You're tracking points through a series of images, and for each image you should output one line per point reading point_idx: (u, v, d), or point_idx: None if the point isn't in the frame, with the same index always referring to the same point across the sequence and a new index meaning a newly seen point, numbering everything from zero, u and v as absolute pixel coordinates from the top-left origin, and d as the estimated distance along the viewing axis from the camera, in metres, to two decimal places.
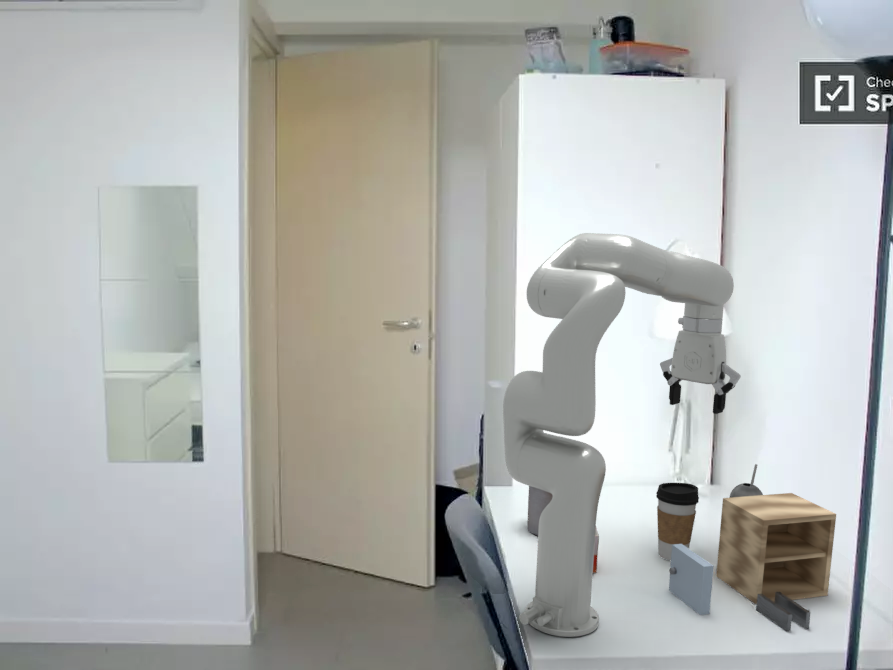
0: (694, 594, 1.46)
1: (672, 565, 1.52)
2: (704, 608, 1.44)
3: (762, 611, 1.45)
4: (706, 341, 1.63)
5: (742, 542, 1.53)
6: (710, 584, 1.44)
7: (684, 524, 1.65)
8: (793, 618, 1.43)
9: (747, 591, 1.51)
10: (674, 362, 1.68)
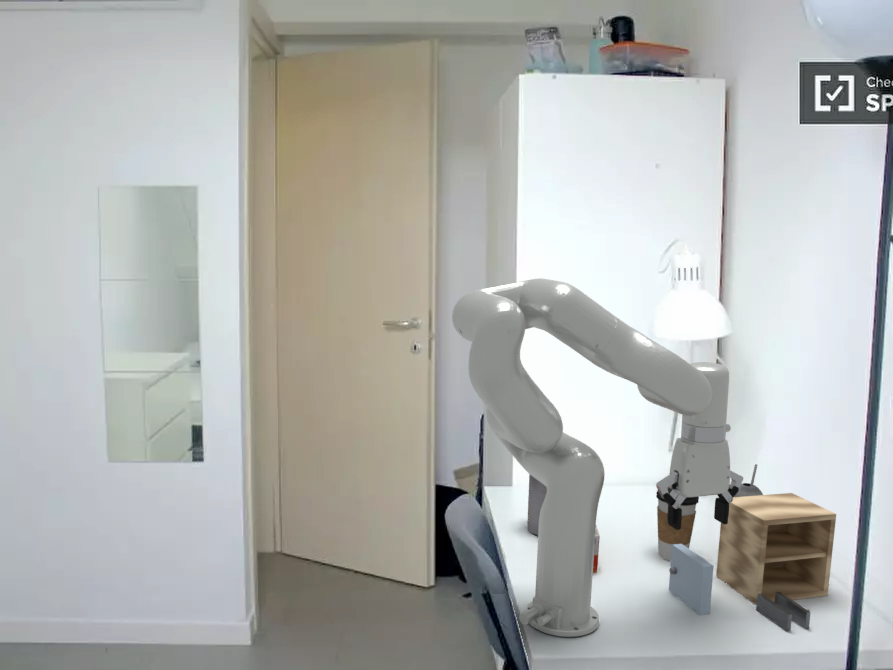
0: (694, 594, 1.46)
1: (672, 565, 1.52)
2: (704, 608, 1.44)
3: (762, 611, 1.45)
4: None
5: (742, 542, 1.53)
6: (710, 584, 1.44)
7: (684, 524, 1.65)
8: (793, 618, 1.43)
9: (747, 591, 1.51)
10: None
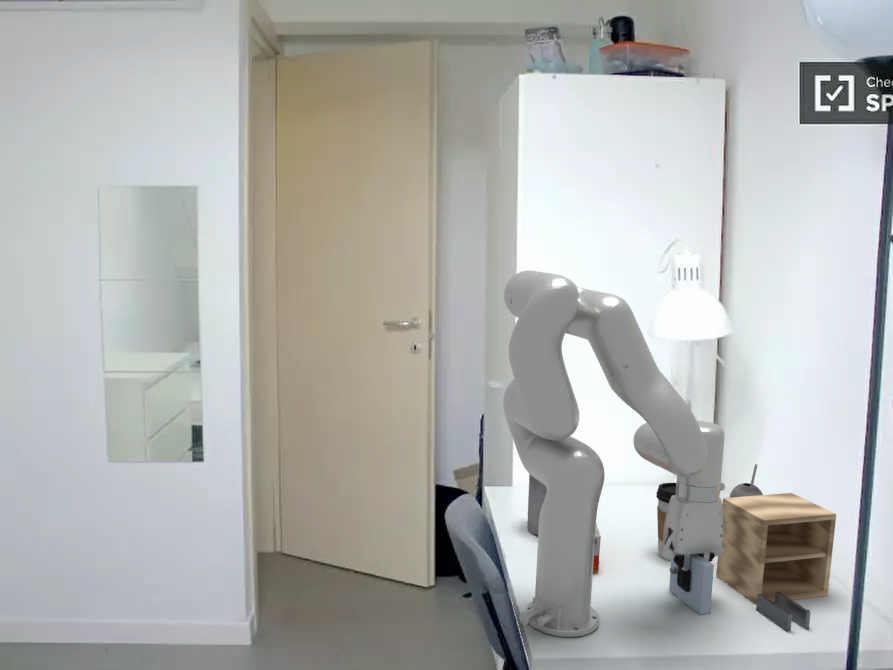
0: (694, 594, 1.46)
1: (672, 565, 1.52)
2: (704, 608, 1.44)
3: (762, 611, 1.45)
4: None
5: (742, 542, 1.53)
6: (710, 584, 1.44)
7: None
8: (793, 618, 1.43)
9: (747, 591, 1.51)
10: None
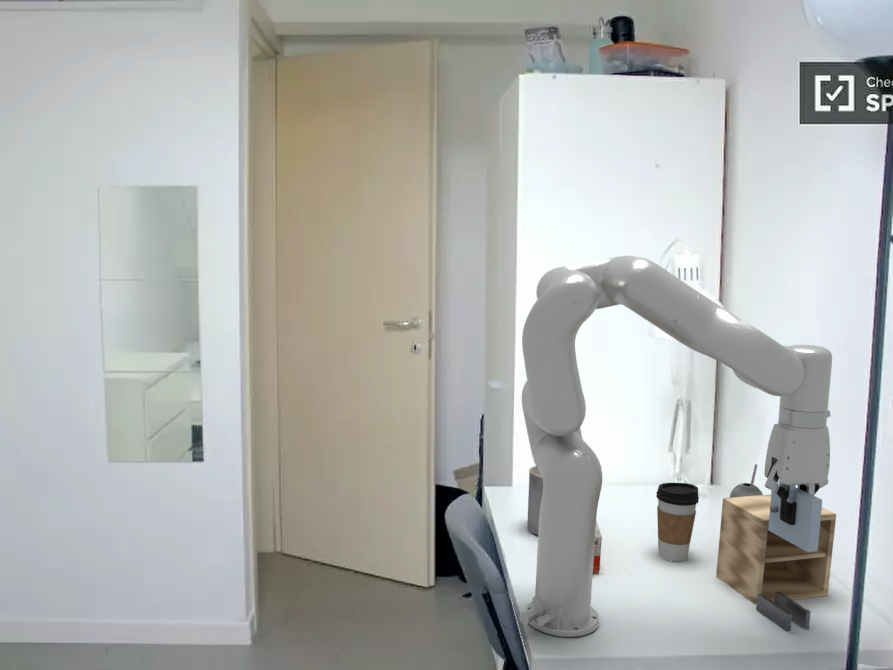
0: (800, 531, 1.38)
1: (772, 503, 1.45)
2: (812, 545, 1.37)
3: (762, 611, 1.45)
4: None
5: (742, 542, 1.53)
6: (819, 519, 1.37)
7: (684, 524, 1.65)
8: (793, 618, 1.43)
9: (747, 591, 1.51)
10: None
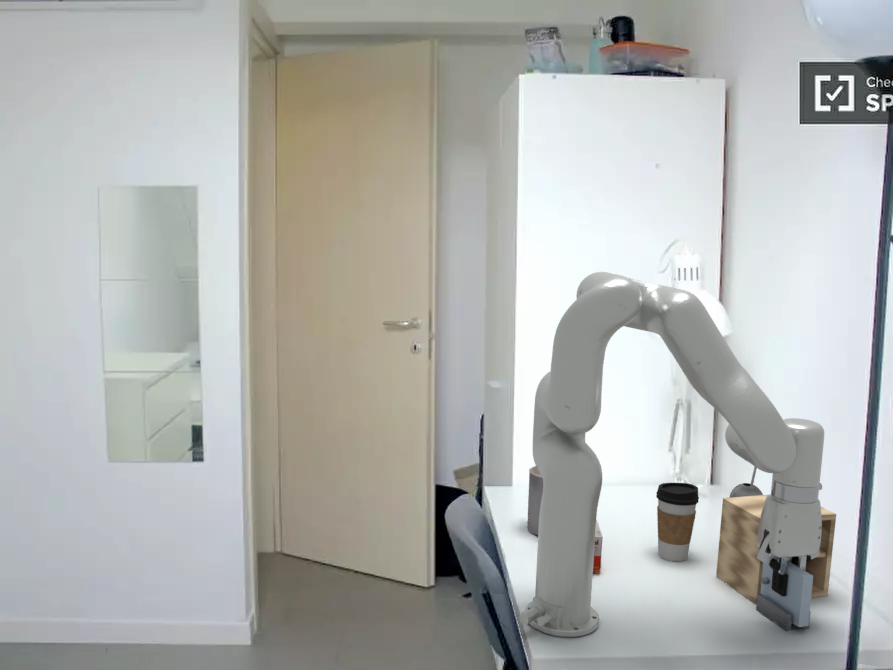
0: (791, 606, 1.40)
1: (764, 575, 1.47)
2: (803, 620, 1.39)
3: (762, 611, 1.45)
4: None
5: (742, 542, 1.53)
6: (809, 595, 1.38)
7: (684, 524, 1.65)
8: None
9: (747, 591, 1.51)
10: None
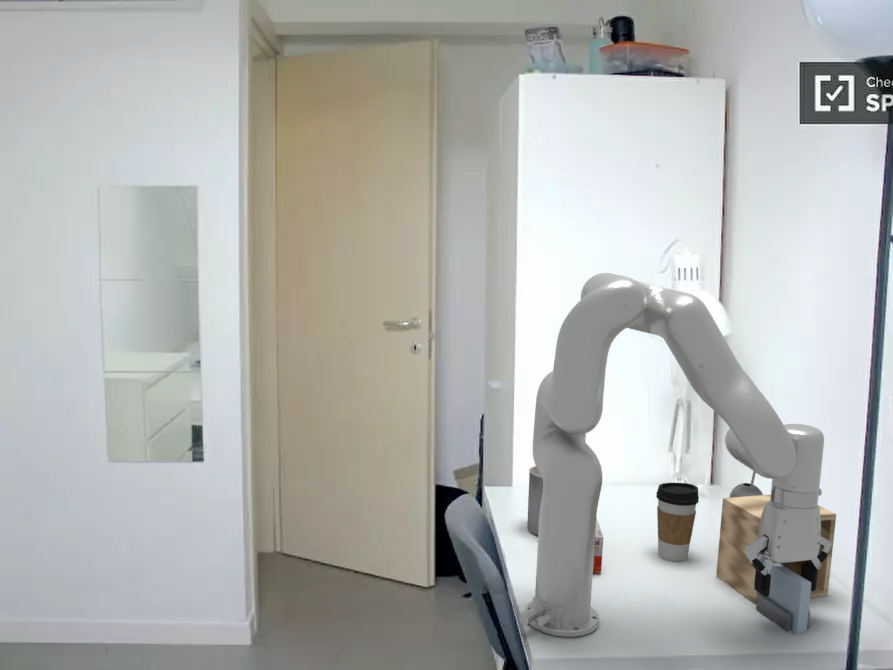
0: (789, 612, 1.40)
1: None
2: (801, 627, 1.39)
3: (762, 611, 1.45)
4: None
5: (742, 542, 1.53)
6: (807, 602, 1.39)
7: (684, 524, 1.65)
8: None
9: (747, 591, 1.51)
10: None
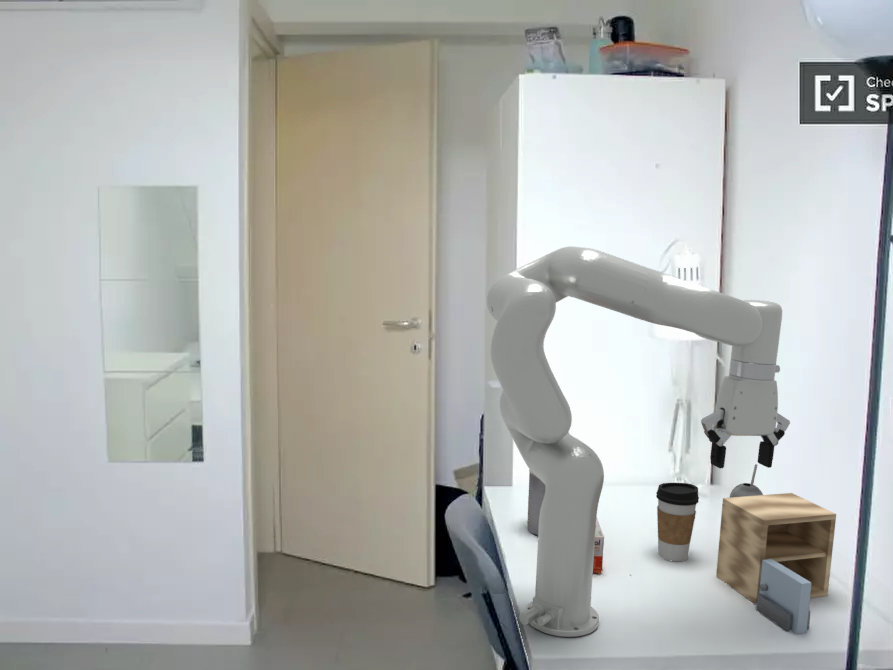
0: (789, 612, 1.40)
1: (762, 581, 1.47)
2: (801, 627, 1.39)
3: (762, 611, 1.45)
4: None
5: (742, 542, 1.53)
6: (807, 602, 1.39)
7: (684, 524, 1.65)
8: None
9: (747, 591, 1.51)
10: None
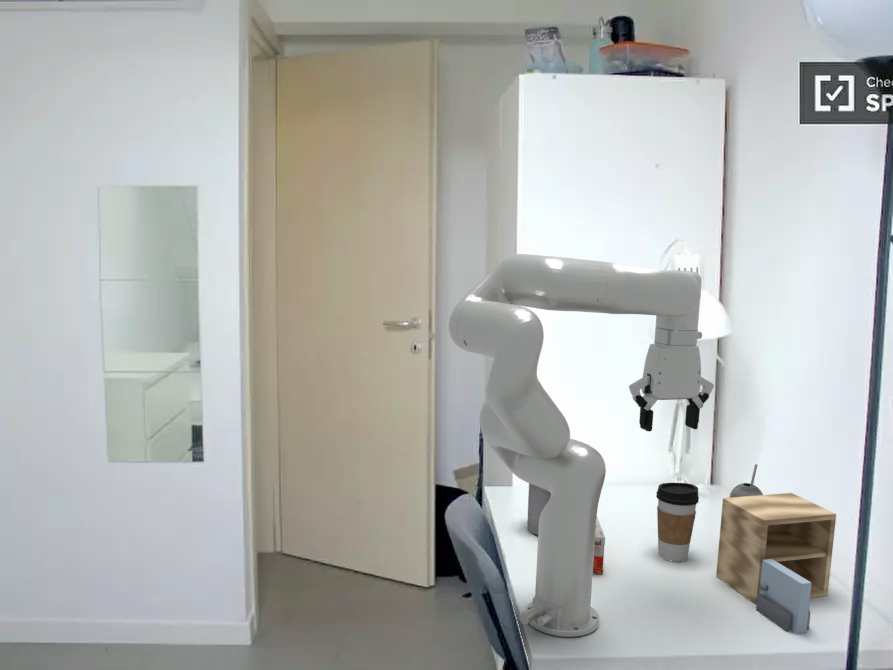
0: (789, 612, 1.40)
1: (762, 581, 1.47)
2: (801, 627, 1.39)
3: (762, 611, 1.45)
4: None
5: (742, 542, 1.53)
6: (808, 602, 1.39)
7: (684, 524, 1.65)
8: None
9: (747, 591, 1.51)
10: None
